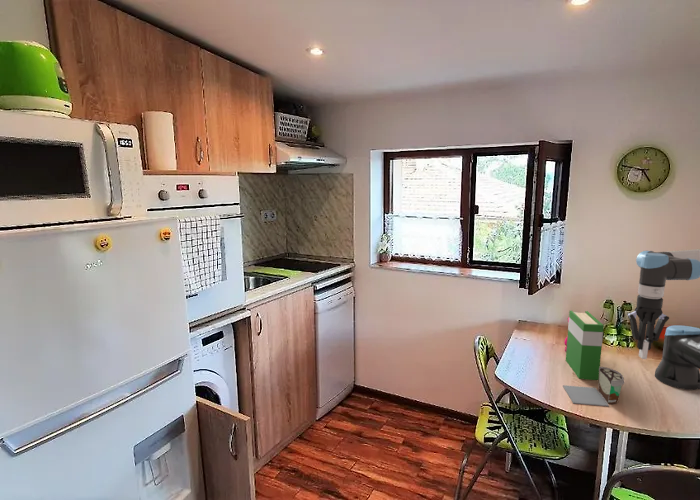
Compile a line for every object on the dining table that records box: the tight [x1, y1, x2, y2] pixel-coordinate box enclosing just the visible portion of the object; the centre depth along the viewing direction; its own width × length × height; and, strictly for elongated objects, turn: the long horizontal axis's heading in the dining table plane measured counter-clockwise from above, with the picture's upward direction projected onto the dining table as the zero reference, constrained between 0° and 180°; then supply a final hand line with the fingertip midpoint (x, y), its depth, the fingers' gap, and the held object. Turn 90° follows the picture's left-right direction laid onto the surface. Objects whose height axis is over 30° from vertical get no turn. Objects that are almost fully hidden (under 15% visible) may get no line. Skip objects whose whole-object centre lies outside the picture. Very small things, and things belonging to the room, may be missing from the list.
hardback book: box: [565, 310, 605, 381], centre depth 177 cm, size 18×7×24 cm, turn 169°
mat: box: [562, 384, 610, 407], centre depth 158 cm, size 12×13×1 cm
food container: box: [597, 366, 625, 405], centre depth 155 cm, size 12×6×10 cm, turn 168°
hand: (642, 357), depth 151 cm, fingers closed
